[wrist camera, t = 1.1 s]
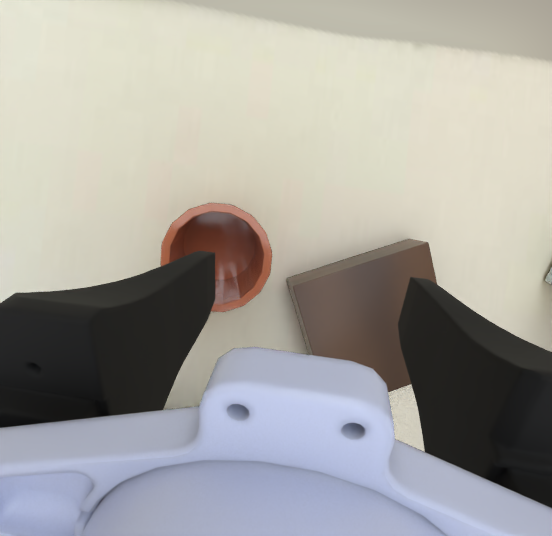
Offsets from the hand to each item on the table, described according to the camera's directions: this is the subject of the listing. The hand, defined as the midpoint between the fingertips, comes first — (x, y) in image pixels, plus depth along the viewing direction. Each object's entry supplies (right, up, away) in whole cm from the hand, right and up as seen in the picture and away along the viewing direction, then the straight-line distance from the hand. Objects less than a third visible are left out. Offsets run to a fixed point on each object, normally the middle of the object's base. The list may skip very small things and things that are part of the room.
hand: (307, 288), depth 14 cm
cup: (-5, +2, +10) cm, 11 cm away
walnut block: (+5, -3, +12) cm, 14 cm away
